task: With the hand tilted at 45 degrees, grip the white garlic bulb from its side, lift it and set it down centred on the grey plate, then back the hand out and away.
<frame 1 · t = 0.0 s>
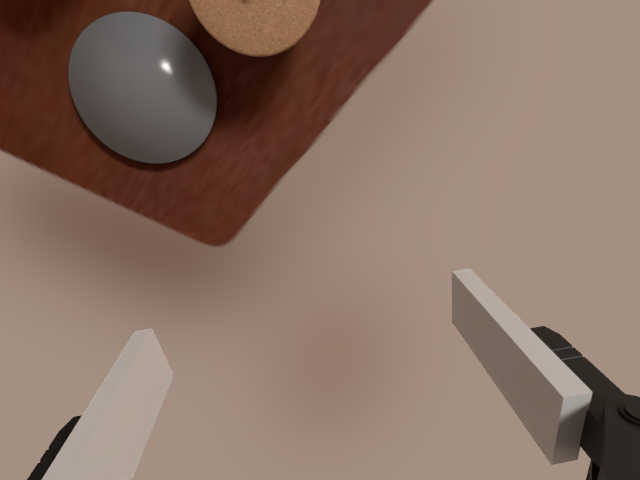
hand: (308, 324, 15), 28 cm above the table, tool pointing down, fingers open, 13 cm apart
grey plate: (148, 93, 36), on the table
lidded jar: (260, 0, 34), on the table
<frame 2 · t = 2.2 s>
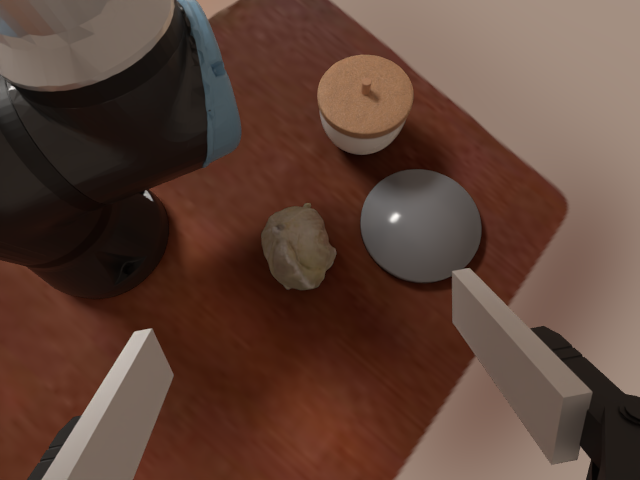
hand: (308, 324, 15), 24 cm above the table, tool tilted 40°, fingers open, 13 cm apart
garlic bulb: (303, 254, 41), on the table
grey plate: (418, 225, 42), on the table
lidded jar: (359, 133, 46), on the table
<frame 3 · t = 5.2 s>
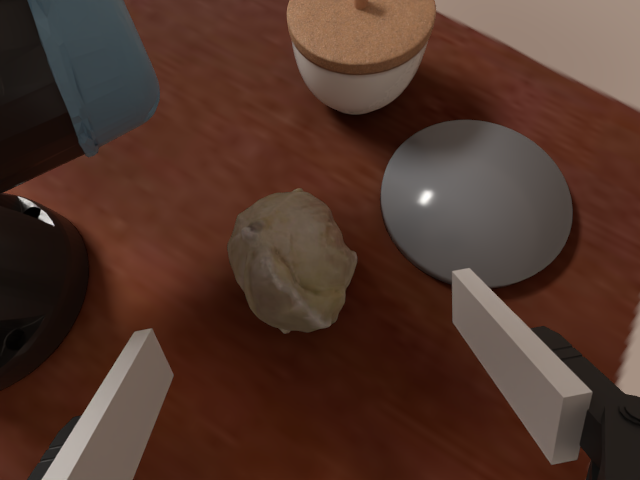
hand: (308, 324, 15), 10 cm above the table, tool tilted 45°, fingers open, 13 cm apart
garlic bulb: (302, 272, 26), on the table
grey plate: (469, 202, 27), on the table
lidded jar: (355, 89, 32), on the table
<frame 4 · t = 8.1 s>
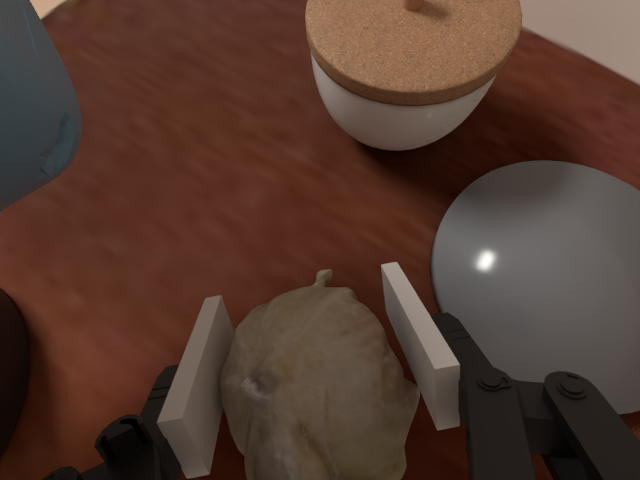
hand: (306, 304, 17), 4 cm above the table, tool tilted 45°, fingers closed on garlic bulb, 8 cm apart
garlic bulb: (327, 377, 19), on the table, touching gripper
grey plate: (554, 276, 20), on the table
lidded jar: (390, 115, 25), on the table
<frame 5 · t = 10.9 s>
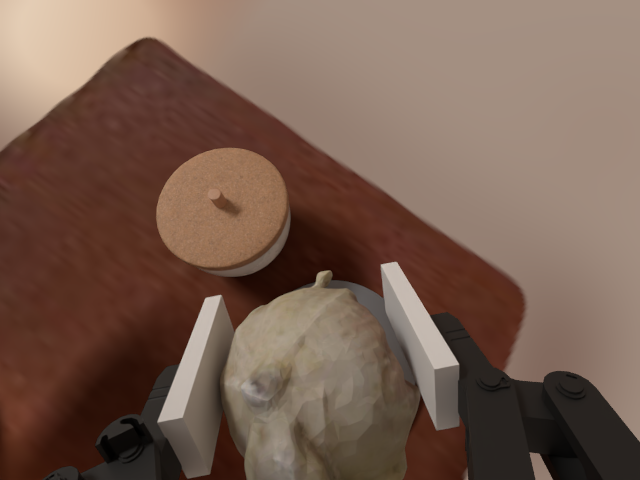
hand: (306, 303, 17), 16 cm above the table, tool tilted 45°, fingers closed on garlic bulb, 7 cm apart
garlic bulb: (327, 378, 19), point 12 cm above the table, touching gripper
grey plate: (332, 361, 30), on the table
lidded jar: (246, 237, 35), on the table
when the fingers open (6 cm above the table, at t = 14.2 s): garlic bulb stays where it is, resting on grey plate.
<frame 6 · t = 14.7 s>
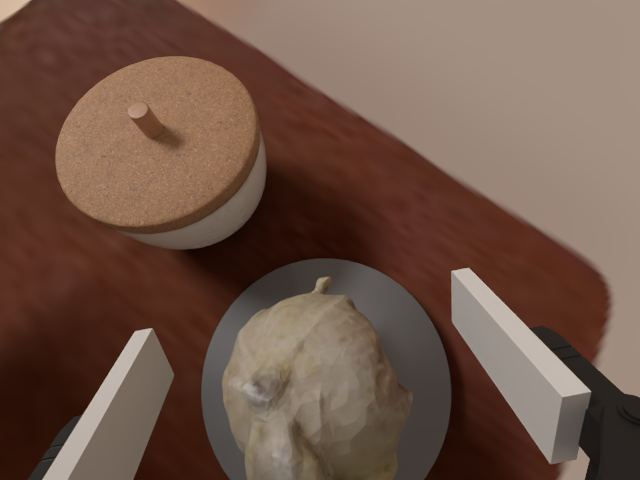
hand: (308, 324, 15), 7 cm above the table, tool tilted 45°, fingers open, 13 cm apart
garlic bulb: (324, 379, 20), point 1 cm above the table, touching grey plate
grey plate: (324, 376, 21), on the table
lidded jar: (209, 200, 25), on the table
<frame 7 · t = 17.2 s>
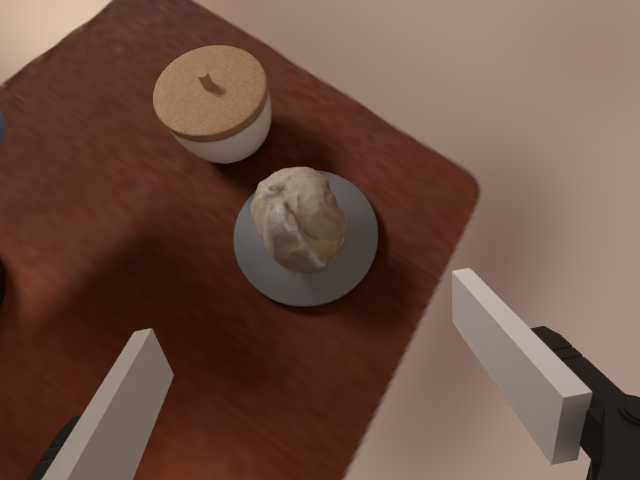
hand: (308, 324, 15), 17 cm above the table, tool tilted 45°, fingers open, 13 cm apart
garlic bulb: (305, 234, 34), point 1 cm above the table, touching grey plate
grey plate: (306, 237, 34), on the table
lidded jar: (234, 140, 39), on the table
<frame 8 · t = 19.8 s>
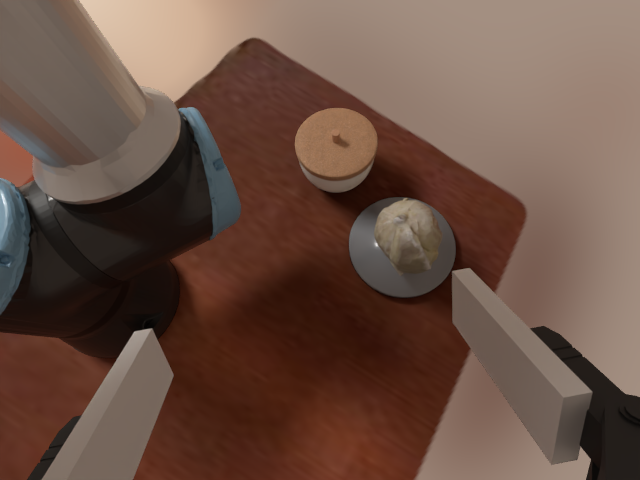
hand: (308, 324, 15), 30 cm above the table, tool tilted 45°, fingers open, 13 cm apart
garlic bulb: (401, 245, 46), point 1 cm above the table, touching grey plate
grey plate: (400, 247, 47), on the table
lidded jar: (336, 173, 52), on the table
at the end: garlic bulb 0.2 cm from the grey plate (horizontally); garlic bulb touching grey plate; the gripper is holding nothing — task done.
